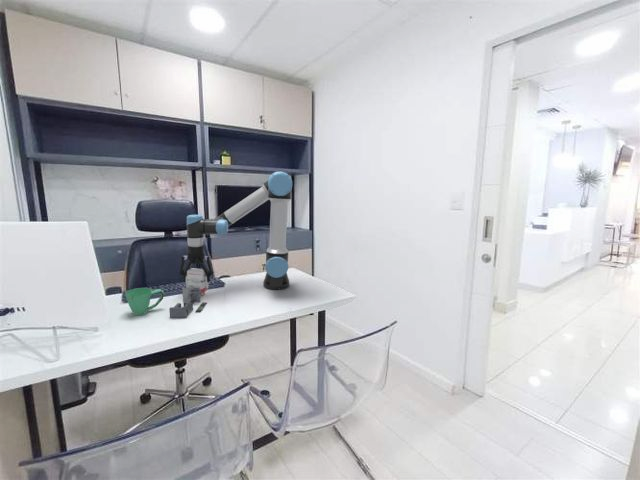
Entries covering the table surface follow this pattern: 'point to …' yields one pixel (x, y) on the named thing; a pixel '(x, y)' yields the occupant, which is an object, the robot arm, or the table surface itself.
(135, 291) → the mug
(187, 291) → the white branched bar piece
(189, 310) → the gauge body
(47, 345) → the table surface
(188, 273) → the ink box
